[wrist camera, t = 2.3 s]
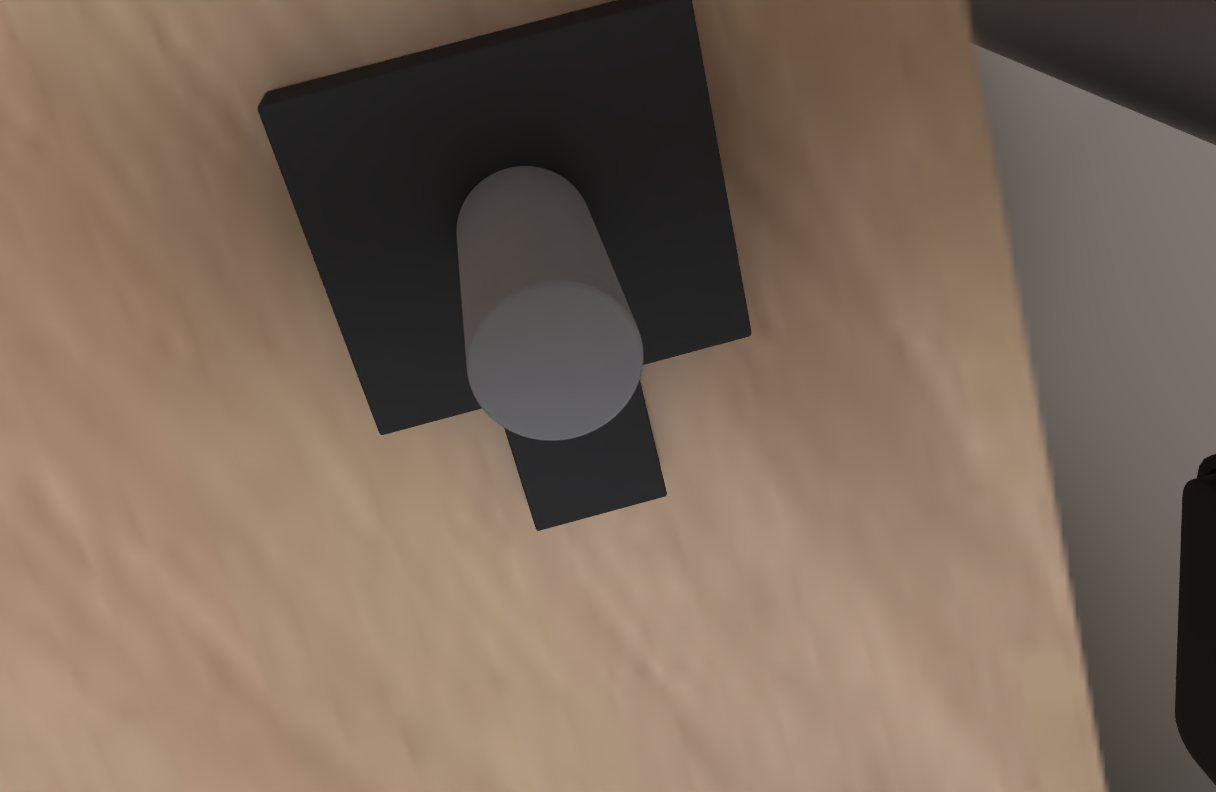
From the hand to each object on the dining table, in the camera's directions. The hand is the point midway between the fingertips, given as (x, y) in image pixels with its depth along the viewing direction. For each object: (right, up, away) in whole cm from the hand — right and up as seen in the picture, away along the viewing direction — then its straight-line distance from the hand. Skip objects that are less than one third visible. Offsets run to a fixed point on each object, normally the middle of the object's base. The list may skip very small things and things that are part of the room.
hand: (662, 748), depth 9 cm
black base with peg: (-2, +5, +14) cm, 15 cm away
